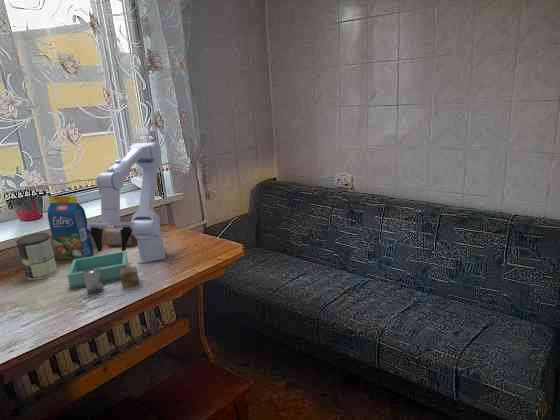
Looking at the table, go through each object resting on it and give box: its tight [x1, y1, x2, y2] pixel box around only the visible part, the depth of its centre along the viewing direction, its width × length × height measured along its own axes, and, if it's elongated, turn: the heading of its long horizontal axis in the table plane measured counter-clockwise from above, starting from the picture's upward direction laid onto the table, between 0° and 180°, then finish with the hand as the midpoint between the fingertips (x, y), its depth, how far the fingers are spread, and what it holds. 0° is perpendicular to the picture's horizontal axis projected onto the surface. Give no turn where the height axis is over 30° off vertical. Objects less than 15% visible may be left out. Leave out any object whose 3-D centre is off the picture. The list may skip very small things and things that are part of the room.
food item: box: [103, 220, 138, 247], centre depth 175 cm, size 14×8×10 cm, turn 76°
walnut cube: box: [120, 265, 140, 289], centre depth 139 cm, size 5×5×5 cm
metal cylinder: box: [83, 268, 105, 295], centre depth 135 cm, size 5×5×7 cm
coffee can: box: [16, 232, 58, 281], centre depth 150 cm, size 10×10×14 cm
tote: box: [67, 250, 129, 290], centre depth 147 cm, size 18×14×5 cm
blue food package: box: [47, 195, 94, 261], centre depth 162 cm, size 6×12×25 cm, turn 78°
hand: (111, 250), depth 136 cm, fingers open, 7 cm apart
